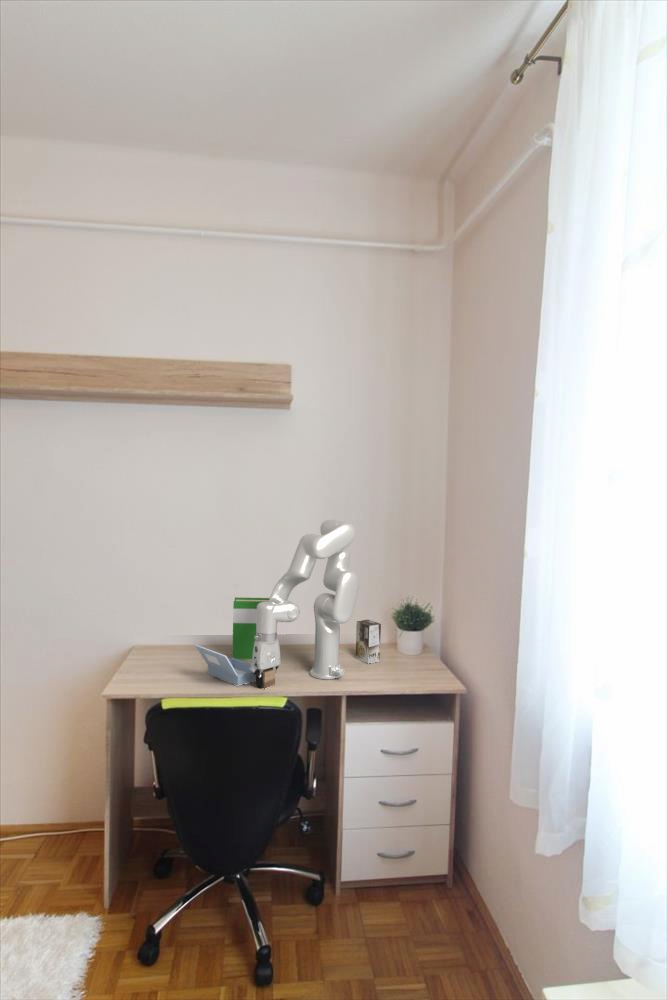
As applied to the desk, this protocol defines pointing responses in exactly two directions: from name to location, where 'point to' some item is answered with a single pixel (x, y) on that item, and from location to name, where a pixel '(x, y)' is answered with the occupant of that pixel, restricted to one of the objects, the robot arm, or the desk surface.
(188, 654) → the desk surface
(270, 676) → the walnut block
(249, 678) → the mailer box
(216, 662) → the lid
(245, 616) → the hardback book
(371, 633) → the coffee box
